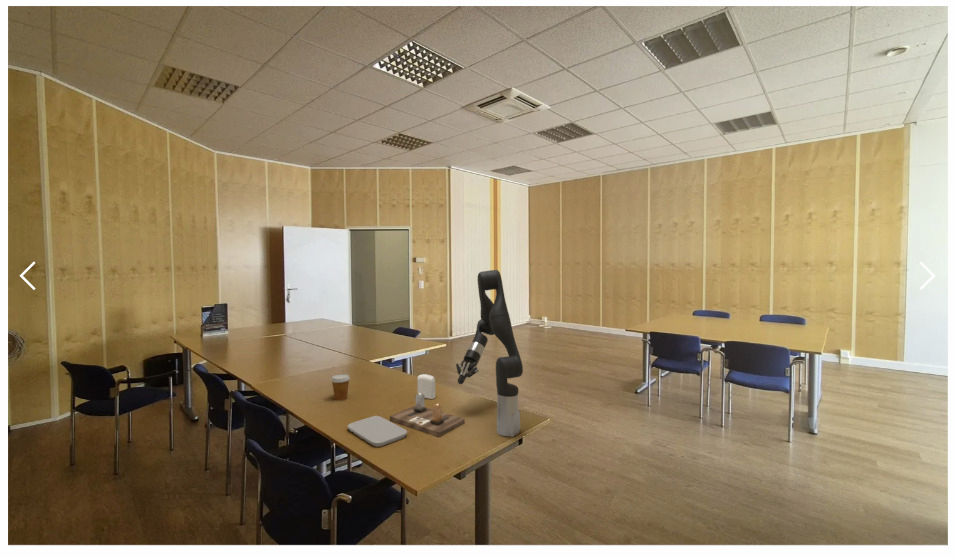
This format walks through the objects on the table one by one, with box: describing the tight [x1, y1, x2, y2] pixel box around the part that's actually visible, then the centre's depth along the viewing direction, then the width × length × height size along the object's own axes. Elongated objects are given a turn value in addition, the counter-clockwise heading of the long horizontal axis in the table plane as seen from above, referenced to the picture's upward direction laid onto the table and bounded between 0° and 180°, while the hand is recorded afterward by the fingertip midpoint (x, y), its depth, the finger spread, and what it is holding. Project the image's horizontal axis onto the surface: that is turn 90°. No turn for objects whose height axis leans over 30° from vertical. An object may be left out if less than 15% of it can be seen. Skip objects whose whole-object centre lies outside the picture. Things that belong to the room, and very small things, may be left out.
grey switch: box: [414, 392, 428, 412], centre depth 195 cm, size 4×4×8 cm
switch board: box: [389, 404, 466, 438], centre depth 187 cm, size 30×18×2 cm, turn 55°
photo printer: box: [416, 373, 436, 400], centre depth 219 cm, size 10×4×12 cm, turn 64°
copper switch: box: [430, 402, 444, 425], centre depth 181 cm, size 4×4×8 cm
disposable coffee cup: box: [330, 373, 351, 401], centre depth 217 cm, size 10×10×12 cm
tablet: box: [347, 415, 408, 448], centre depth 176 cm, size 16×26×2 cm, turn 45°
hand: (459, 383), depth 194 cm, fingers closed
